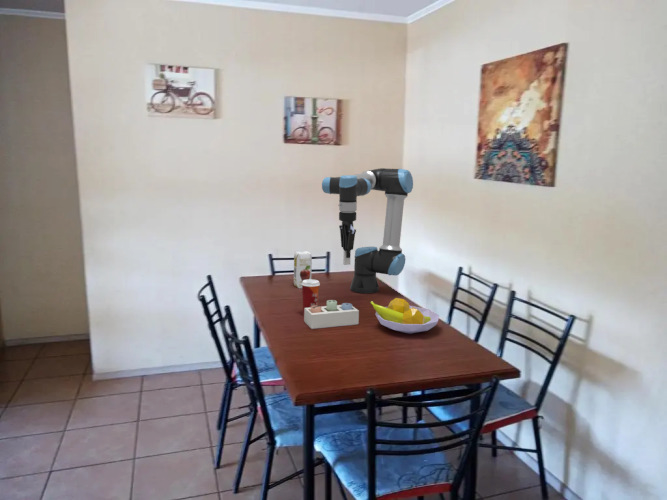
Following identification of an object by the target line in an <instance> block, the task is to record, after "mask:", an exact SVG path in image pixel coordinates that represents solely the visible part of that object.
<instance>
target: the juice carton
mask: <svg viewBox="0 0 667 500" xmlns="http://www.w3.org/2000/svg"><path fill="white" fill-rule="evenodd" d="M312 260H313V256H312V253H311V252H310V251H308V250H305V251H294V256H293V284H294V287H296V288H297V289H302V281H303V280H307V279H312V270H313V269H312V267H313V266H312V264H313V261H312Z"/></svg>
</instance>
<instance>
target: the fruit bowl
mask: <svg viewBox="0 0 667 500" xmlns="http://www.w3.org/2000/svg"><path fill="white" fill-rule="evenodd" d="M370 305H372V307H373V309H374V310H375V316H376V318H377V321H379V324H380V325H382V326H384V327H386V328H388V329H390V330H394V331H397V332H400V333H405V334H414V333H415V334H417V333H421V332H427V331H429V330H431V329H433V328H434V327H435V326H437V325H438V322H439V319H440V314H438V313H437V312H435V311H432V310H431V309H430V308H423V307H419V306H414V305H410V302H408V301H407V300H406V299H404V298H399V297H395V298H394V299H391V300H390V302H389V303H388V306H383V305H379V304H377V303H375V302H374V301H372V300H371V301H370Z"/></svg>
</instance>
